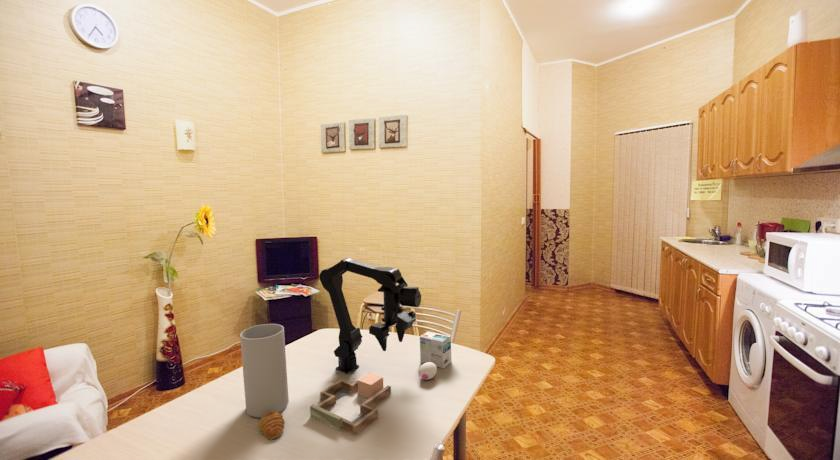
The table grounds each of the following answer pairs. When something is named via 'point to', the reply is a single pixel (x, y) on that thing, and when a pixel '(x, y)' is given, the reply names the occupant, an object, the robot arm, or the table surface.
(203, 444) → the table surface
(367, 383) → the terracotta block
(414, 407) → the table surface
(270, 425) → the pastry
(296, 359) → the table surface
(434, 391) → the table surface
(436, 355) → the light bulb box
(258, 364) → the cylinder vase
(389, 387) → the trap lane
